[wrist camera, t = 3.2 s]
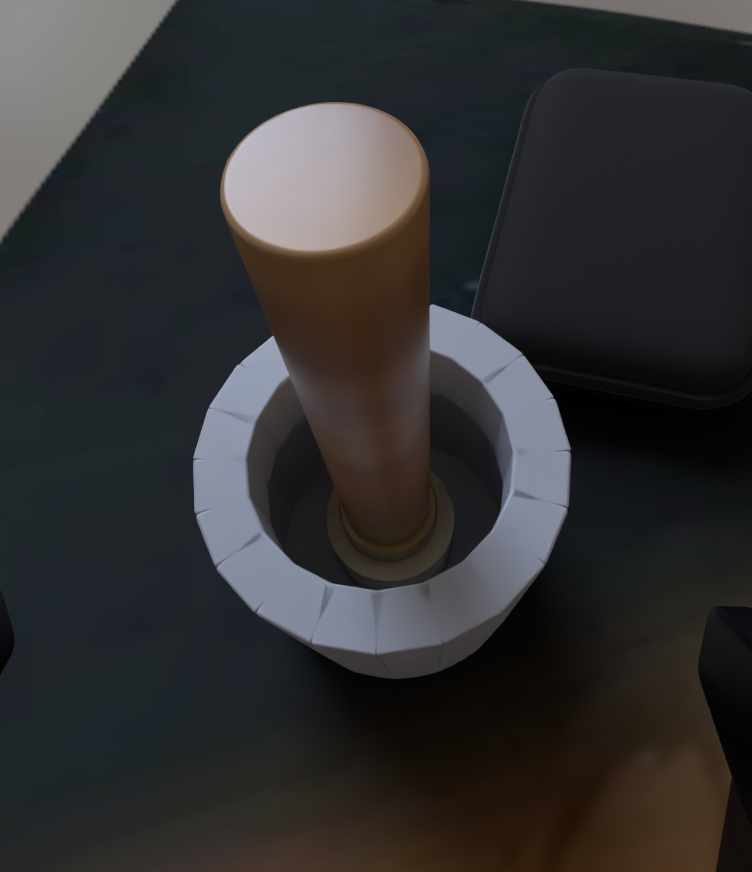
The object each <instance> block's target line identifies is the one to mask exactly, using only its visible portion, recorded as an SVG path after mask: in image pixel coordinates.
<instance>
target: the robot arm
mask: <svg viewBox="0 0 752 872" xmlns="http://www.w3.org/2000/svg"><path fill="white" fill-rule="evenodd" d="M13 648H14V633H13V629H12V625H11V622H10V618H9V615H8V611H7V608H6V604H5V601H4V597H3V594H2V592H1V591H0V675H1V673H2V671H3V669H4V667H5V666H6V664H7V662H8V660H9V658H10V656H11V654H12V651H13ZM698 669H699V677H700V682H701V685H702V688H703V691H704V694H705V697H706V700H707V703H708V706H709V709H710V712H711V715H712V718H713V721H714V724H715V727H716V730H717V733H718V736H719V739H720V742H721V745H722V748H723V751H724V754H725V757H726V760H727V763H728V766H729V769H730V772H731V775H732V778H733V781H734V784H735V787H736V790H737V793H738V795H739V798H740V801H741V804H742V807H743V809H744V812H745V814H746V816H747V819H748V821H749V823H750V826H751V828H752V608H748V607H728V606H717V607H715V608H713V609H712V610H711V611H710V612H709V614H708V617H707V622H706V627H705V632H704V637H703V642H702V647H701V652H700V657H699V667H698Z"/></svg>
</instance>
